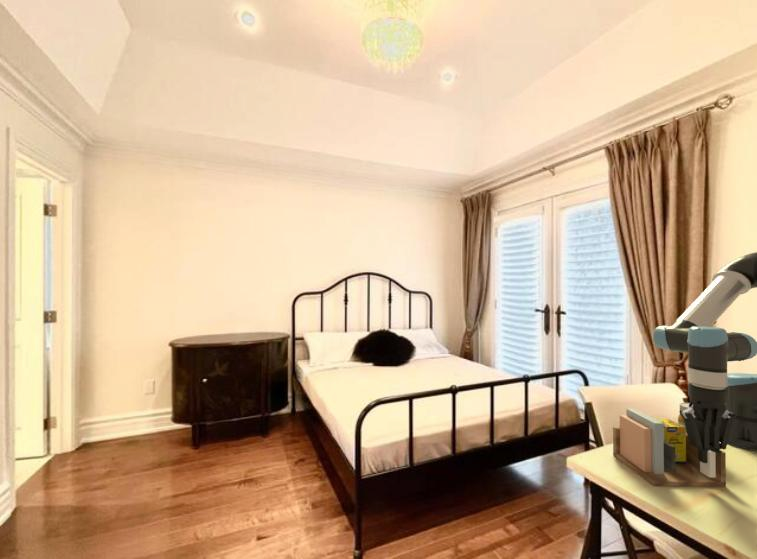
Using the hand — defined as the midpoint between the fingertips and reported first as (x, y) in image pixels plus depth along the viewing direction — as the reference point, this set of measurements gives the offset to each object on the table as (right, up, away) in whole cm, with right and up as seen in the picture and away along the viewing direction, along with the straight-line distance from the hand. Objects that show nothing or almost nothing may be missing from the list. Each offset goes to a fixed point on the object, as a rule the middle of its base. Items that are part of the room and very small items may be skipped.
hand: (707, 474), depth 90 cm
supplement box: (0, -3, +12) cm, 13 cm away
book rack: (-4, -4, +9) cm, 10 cm away
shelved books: (-10, -2, +10) cm, 14 cm away
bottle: (+13, -4, +18) cm, 23 cm away
